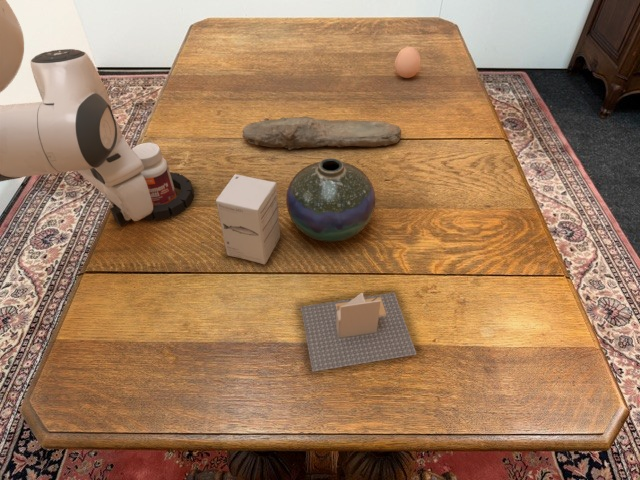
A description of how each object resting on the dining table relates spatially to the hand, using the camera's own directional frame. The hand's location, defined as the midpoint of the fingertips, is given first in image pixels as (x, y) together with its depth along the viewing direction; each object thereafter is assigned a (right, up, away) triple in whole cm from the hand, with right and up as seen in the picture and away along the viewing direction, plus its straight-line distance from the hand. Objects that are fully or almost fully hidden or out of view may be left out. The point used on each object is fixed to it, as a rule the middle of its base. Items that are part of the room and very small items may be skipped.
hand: (123, 212), depth 86 cm
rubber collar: (+4, +2, +4) cm, 6 cm away
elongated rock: (+36, +17, +19) cm, 44 cm away
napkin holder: (+41, -18, -17) cm, 48 cm away
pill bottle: (+5, +3, +5) cm, 8 cm away
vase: (+38, -2, -1) cm, 38 cm away
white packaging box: (+25, -6, -4) cm, 26 cm away
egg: (+59, +38, +39) cm, 81 cm away
